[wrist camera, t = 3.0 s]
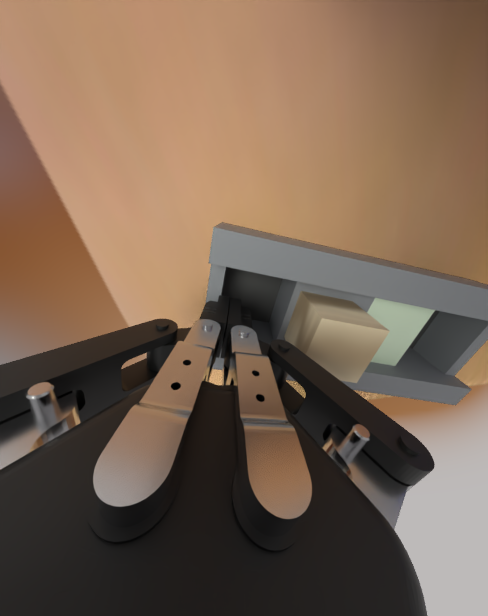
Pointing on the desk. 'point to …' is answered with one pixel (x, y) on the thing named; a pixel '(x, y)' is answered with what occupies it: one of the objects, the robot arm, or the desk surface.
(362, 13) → the desk surface
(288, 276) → the box
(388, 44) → the desk surface
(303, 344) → the birch block
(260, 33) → the desk surface
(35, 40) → the desk surface
